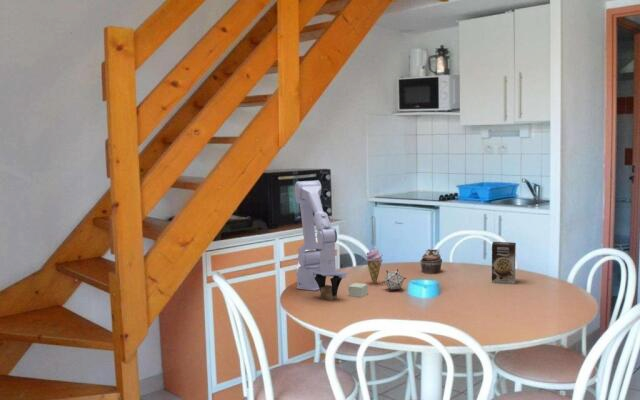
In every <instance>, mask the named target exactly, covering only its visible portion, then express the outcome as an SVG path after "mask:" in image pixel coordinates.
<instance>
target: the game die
mask: <svg viewBox="0 0 640 400" xmlns="http://www.w3.org/2000/svg"><path fill="white" fill-rule="evenodd" d="M385 272H386V275H385V277H384V281H381V283H382V284H385V285H386V287H388V288H389V292H391V291H392V290H401V291H402V290H403V289H402V286H403V283H404V281H405V280H406V279H407V277H404V276H403V275H402V274H401V273H400V272H399V269H398V268H397V269H396V270H392V271H388V270H387V269H386V270H385Z"/></svg>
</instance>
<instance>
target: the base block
mask: <svg viewBox="0 0 640 400" xmlns="http://www.w3.org/2000/svg"><path fill="white" fill-rule="evenodd" d="M347 288H348V297H356V298H363V297H365V296H366V295H368V294H369V293H368V292H369V291H368V284H367V283H360V282H359V283H358V282H354V283H352V284H350V285H349V286H348V287H347Z"/></svg>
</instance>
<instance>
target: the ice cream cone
mask: <svg viewBox="0 0 640 400" xmlns="http://www.w3.org/2000/svg"><path fill="white" fill-rule="evenodd" d="M379 251H380V250H379V249H378V248H375V247H373V248H372V249H369V251H368V252H366V262H367V268H368V272H369V275H370V278H371V282H372V284H373V285H376V284H377V283H378V278H379V275H380V269H381V267H382V263H383V258H382V257H383V254H380V253H379Z"/></svg>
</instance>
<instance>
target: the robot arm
mask: <svg viewBox="0 0 640 400" xmlns="http://www.w3.org/2000/svg"><path fill="white" fill-rule="evenodd" d="M321 195H322V184H321V181H320V180H319V179H317V180H303V181H299V180H298V181H296V182H295V185H294V198H295V202H296V203H298V204H299V207H300V208H299V209H300V215H301V223H302V224H301V225H302V235H303V244H302V245H301V246H299V248H298V249H297V250H298V251H297V252H298V253H297V254H298V255H297V259H298V265H299V266H298V268H297V271H296V281H297V282H296V284H297V286H296V289H298V290H299V289H300V290H307V291H313V292H314V291H318V290H319V292H320V293H321V287H323V286H325V285H326V280H327V277H331V278H330V279H329V280H330V285H331V286H332V294H333V296H336V295H337V296H338V290H339V286H340V284H341V282H342V280H343V279H346V278H347V272H346V271H341V270H336V246H335V245H336V243H337V240H338V233H337V230H336V227H334V225H332V224H331V221H330V219H329V215H328V213H327V212H326V211H324V209H323V205H322V200H321ZM315 228H316V230H315ZM316 231H317V233H316Z"/></svg>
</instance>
